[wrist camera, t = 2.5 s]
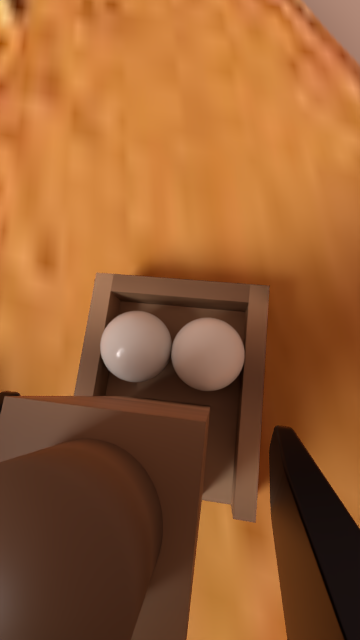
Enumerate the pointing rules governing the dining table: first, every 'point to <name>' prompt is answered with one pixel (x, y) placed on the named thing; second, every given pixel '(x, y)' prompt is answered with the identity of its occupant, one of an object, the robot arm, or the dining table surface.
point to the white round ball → (136, 346)
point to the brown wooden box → (126, 474)
